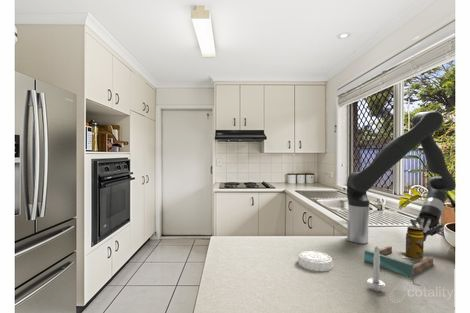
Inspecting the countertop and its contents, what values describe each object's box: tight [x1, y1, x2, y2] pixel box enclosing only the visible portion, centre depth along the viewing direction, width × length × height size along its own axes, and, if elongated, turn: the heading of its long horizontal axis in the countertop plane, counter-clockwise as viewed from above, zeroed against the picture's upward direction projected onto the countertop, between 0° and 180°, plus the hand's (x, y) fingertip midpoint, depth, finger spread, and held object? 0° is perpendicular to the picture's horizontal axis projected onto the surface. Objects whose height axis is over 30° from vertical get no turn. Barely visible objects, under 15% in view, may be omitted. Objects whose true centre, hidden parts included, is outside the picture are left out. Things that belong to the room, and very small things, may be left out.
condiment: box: [397, 226, 425, 261], centre depth 108 cm, size 7×8×12 cm
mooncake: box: [297, 250, 333, 272], centre depth 97 cm, size 12×12×4 cm
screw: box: [366, 246, 386, 292], centre depth 79 cm, size 13×5×5 cm
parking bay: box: [363, 245, 434, 278], centre depth 101 cm, size 20×16×4 cm
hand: (420, 240), depth 113 cm, fingers closed
